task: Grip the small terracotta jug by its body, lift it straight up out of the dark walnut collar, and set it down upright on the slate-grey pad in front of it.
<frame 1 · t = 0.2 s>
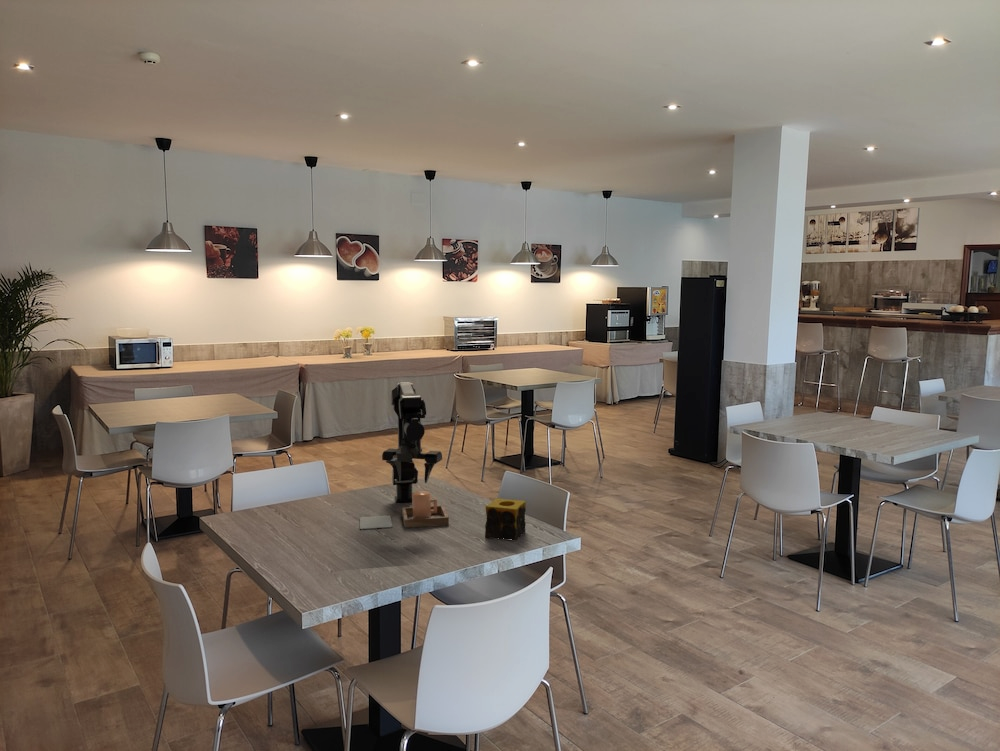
hand: (412, 481, 233), 14 cm above the table, tool pointing down, fingers open, 9 cm apart
collar: (424, 519, 238), on the table
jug: (421, 520, 237), resting in collar
candle: (505, 535, 223), on the table
pad: (375, 523, 234), on the table
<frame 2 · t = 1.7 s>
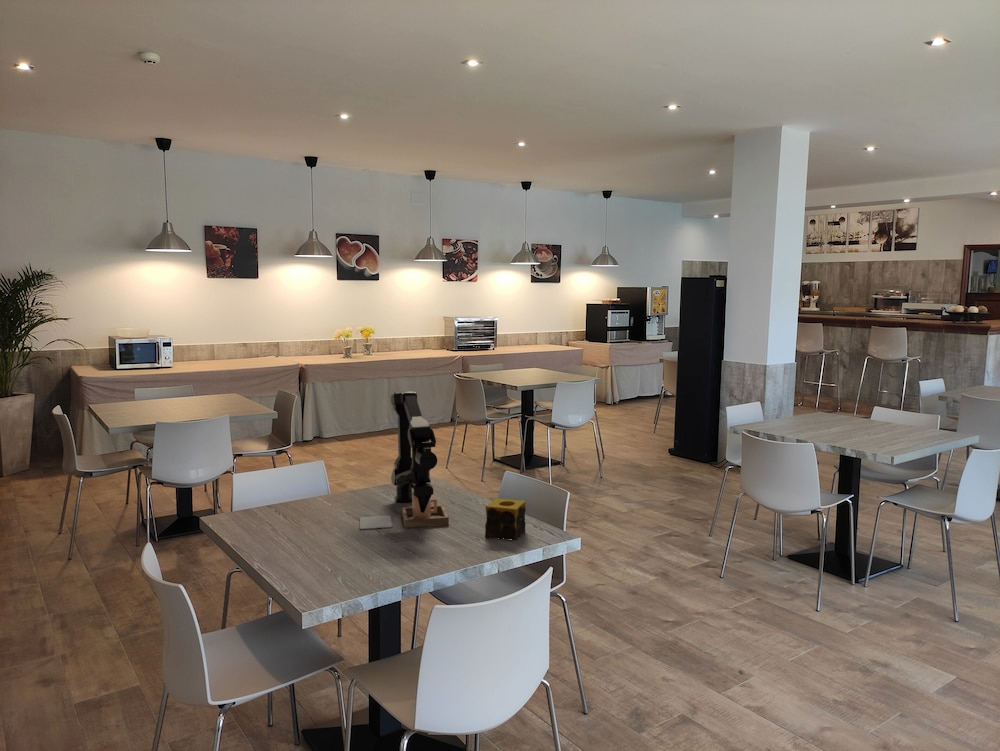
hand: (421, 509, 237), 4 cm above the table, tool pointing down, fingers closed on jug, 6 cm apart
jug: (421, 520, 237), resting in collar, touching gripper
everything else where it was.
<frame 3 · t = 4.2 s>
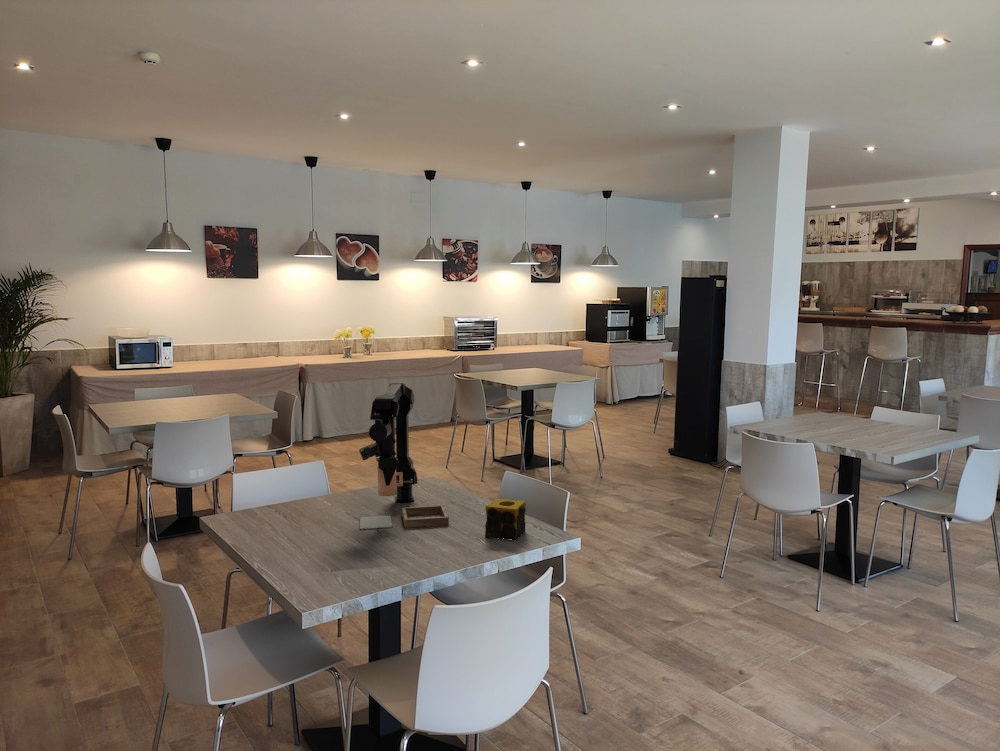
hand: (386, 483, 234), 13 cm above the table, tool pointing down, fingers closed on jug, 6 cm apart
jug: (387, 493, 234), point 10 cm above the table, touching gripper
everything else where it was.
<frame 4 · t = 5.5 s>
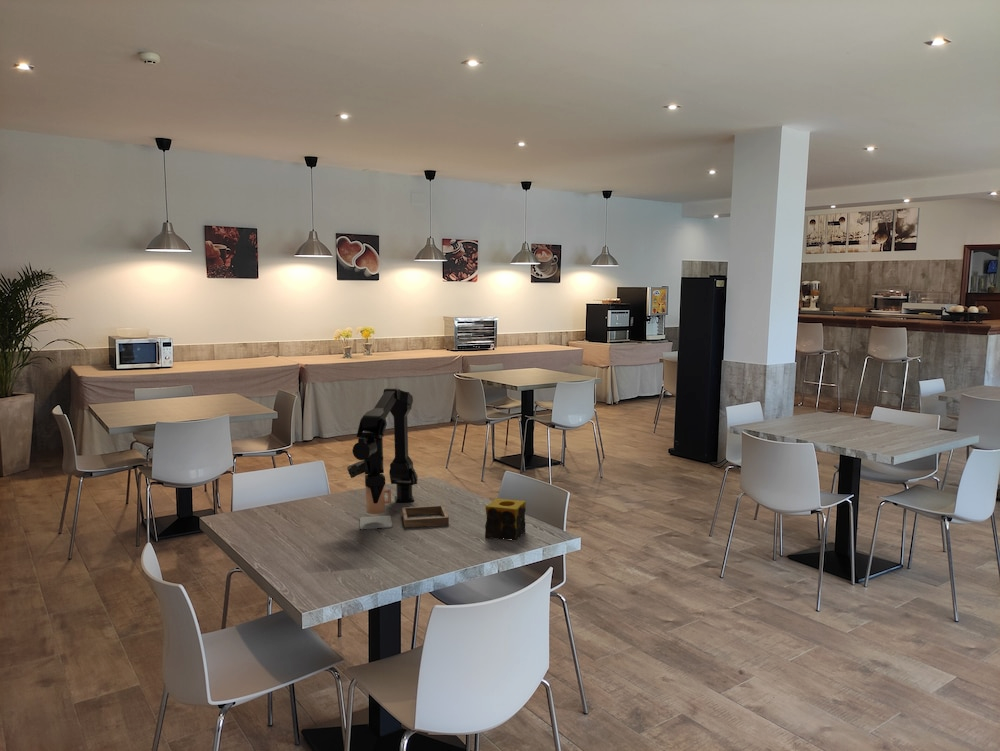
hand: (375, 500, 234), 8 cm above the table, tool pointing down, fingers closed on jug, 6 cm apart
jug: (375, 511, 234), point 4 cm above the table, touching gripper
everything else where it was.
when the fingers open (5 cm above the table, at t = 6.5 s): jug stays where it is, resting on pad.
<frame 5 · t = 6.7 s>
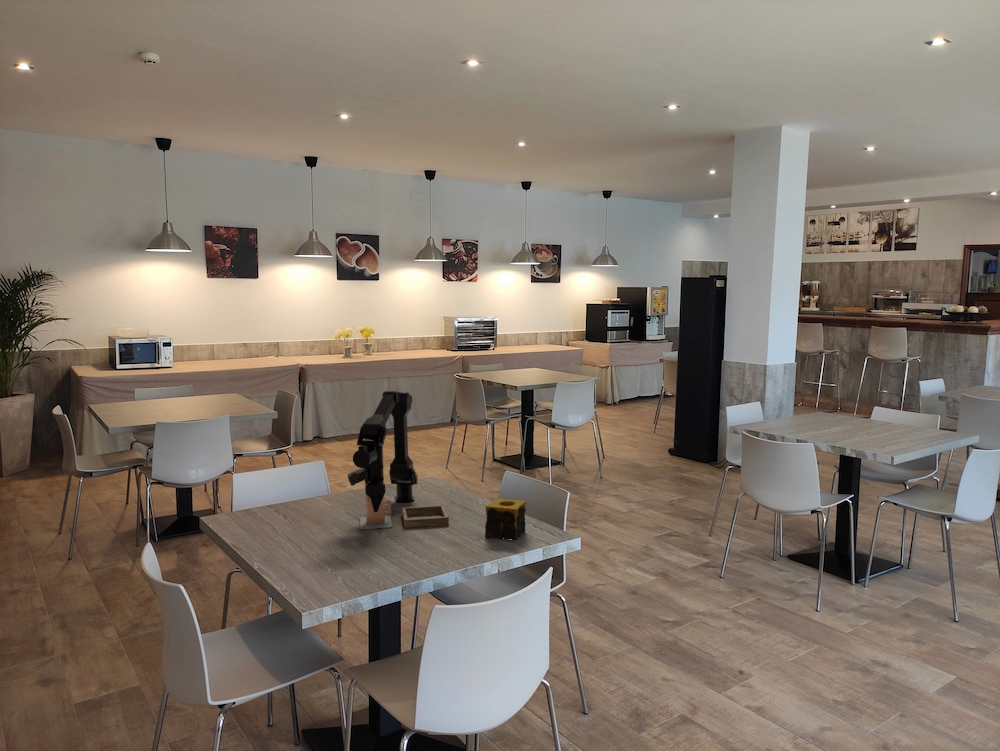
hand: (375, 508, 234), 5 cm above the table, tool pointing down, fingers open, 8 cm apart
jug: (375, 521, 234), resting on pad
everything else where it was.
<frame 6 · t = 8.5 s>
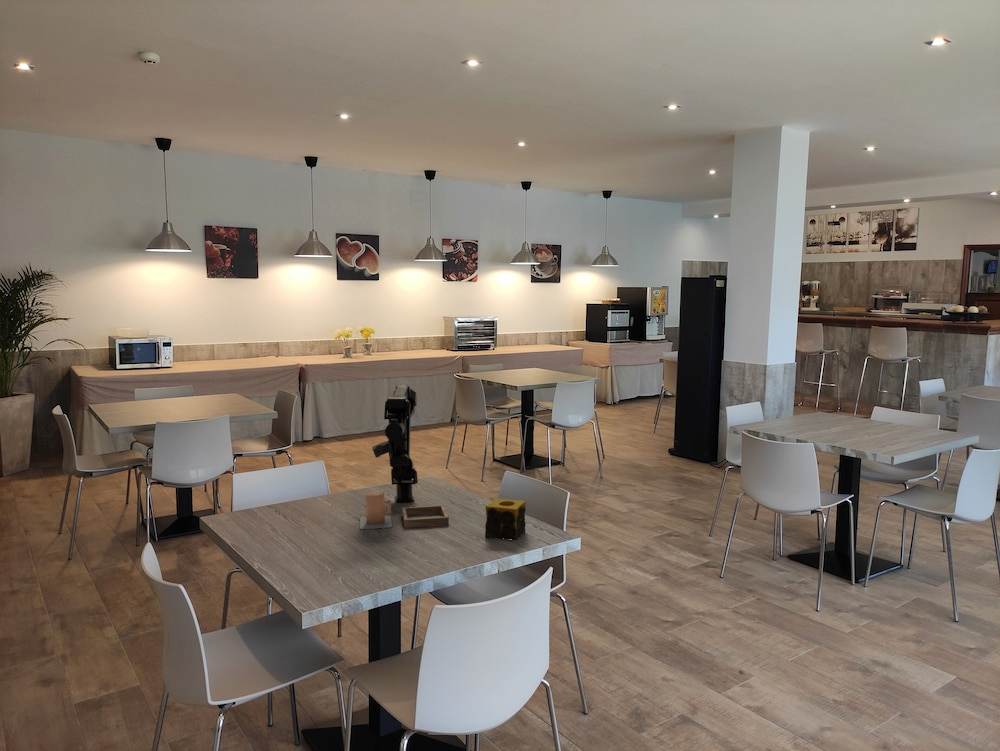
hand: (398, 479, 244), 12 cm above the table, tool pointing down, fingers open, 9 cm apart
nothing on the table moved.
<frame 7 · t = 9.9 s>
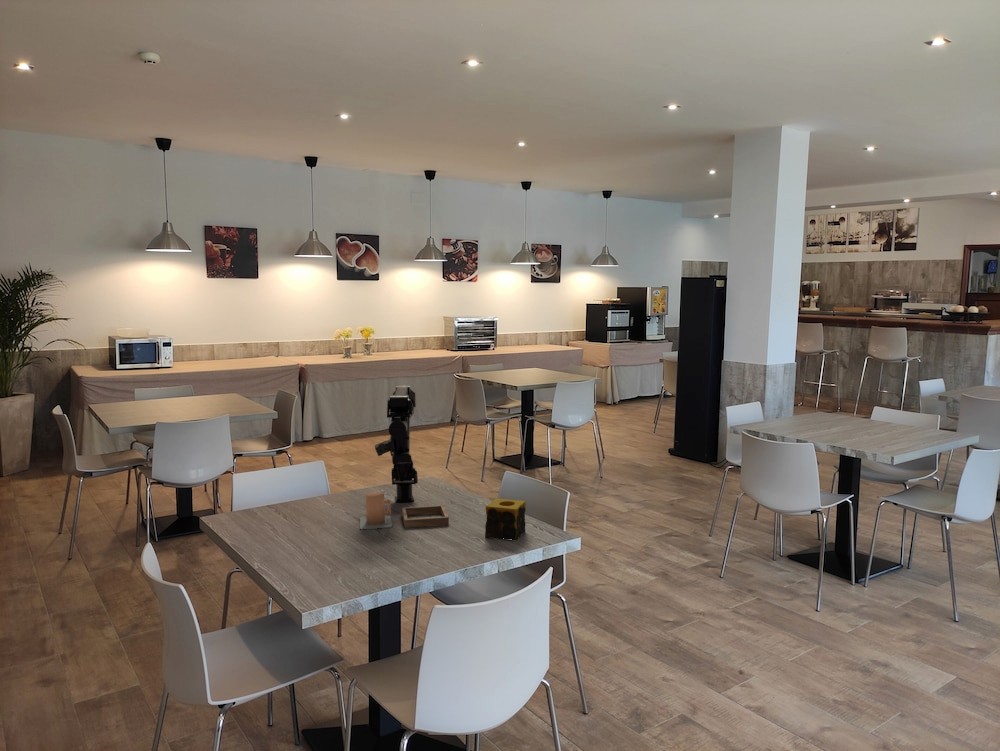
hand: (400, 477, 245), 12 cm above the table, tool pointing down, fingers open, 9 cm apart
nothing on the table moved.
at the end: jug inside the target area on the pad (0.0 cm from its centre), point 0.4 cm above the pad's base; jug tilted 1°; the gripper is holding nothing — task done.
